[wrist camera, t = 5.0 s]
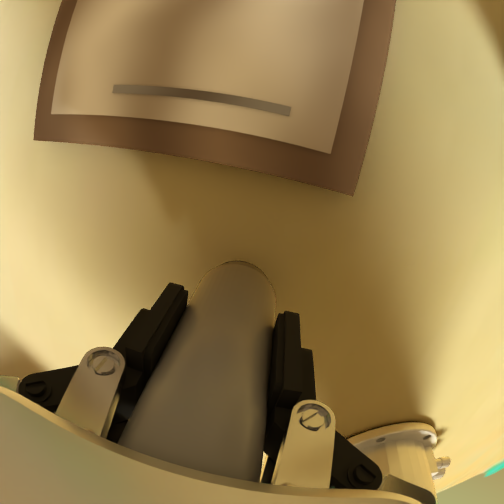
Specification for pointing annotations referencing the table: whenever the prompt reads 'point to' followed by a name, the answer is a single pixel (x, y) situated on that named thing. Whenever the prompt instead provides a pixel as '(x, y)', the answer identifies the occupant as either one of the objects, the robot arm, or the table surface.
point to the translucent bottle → (212, 379)
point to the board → (221, 81)
